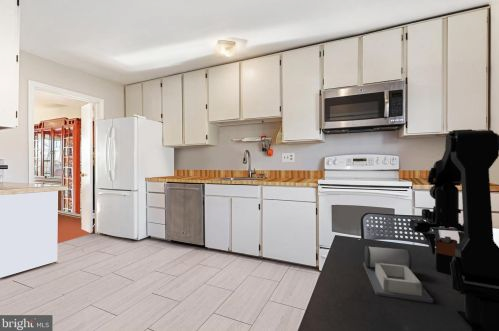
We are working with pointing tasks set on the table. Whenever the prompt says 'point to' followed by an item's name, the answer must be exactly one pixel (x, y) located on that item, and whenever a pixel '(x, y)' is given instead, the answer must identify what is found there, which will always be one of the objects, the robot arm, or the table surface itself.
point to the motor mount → (393, 274)
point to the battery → (445, 254)
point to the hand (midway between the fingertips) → (446, 255)
